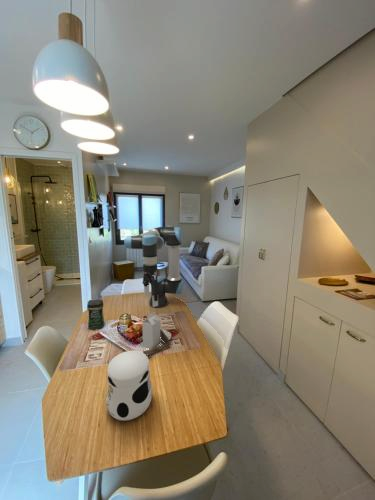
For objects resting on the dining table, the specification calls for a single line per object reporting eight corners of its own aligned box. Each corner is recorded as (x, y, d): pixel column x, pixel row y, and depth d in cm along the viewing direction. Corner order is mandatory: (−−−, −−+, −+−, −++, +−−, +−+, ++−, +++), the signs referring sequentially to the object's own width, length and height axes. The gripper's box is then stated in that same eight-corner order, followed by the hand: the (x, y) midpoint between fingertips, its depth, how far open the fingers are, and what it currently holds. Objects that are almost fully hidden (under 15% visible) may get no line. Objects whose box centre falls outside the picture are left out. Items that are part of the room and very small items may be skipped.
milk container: (99, 403, 81) (96, 362, 78) (138, 379, 93) (136, 343, 90) (120, 437, 69) (117, 391, 65) (161, 404, 81) (160, 364, 77)
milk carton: (142, 346, 115) (141, 315, 112) (150, 339, 121) (150, 310, 118) (152, 350, 112) (152, 318, 108) (160, 343, 118) (160, 313, 115)
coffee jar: (87, 330, 130) (85, 303, 127) (90, 324, 138) (88, 298, 134) (103, 329, 132) (101, 302, 129) (105, 322, 140) (104, 297, 137)
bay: (160, 335, 127) (159, 327, 126) (169, 347, 115) (169, 339, 114) (136, 342, 119) (135, 334, 118) (143, 356, 107) (143, 348, 106)
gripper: (136, 259, 117) (137, 294, 121) (151, 270, 96) (152, 312, 100) (148, 258, 121) (149, 292, 125) (166, 268, 100) (166, 308, 103)
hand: (150, 301), depth 112 cm, fingers open, 13 cm apart
